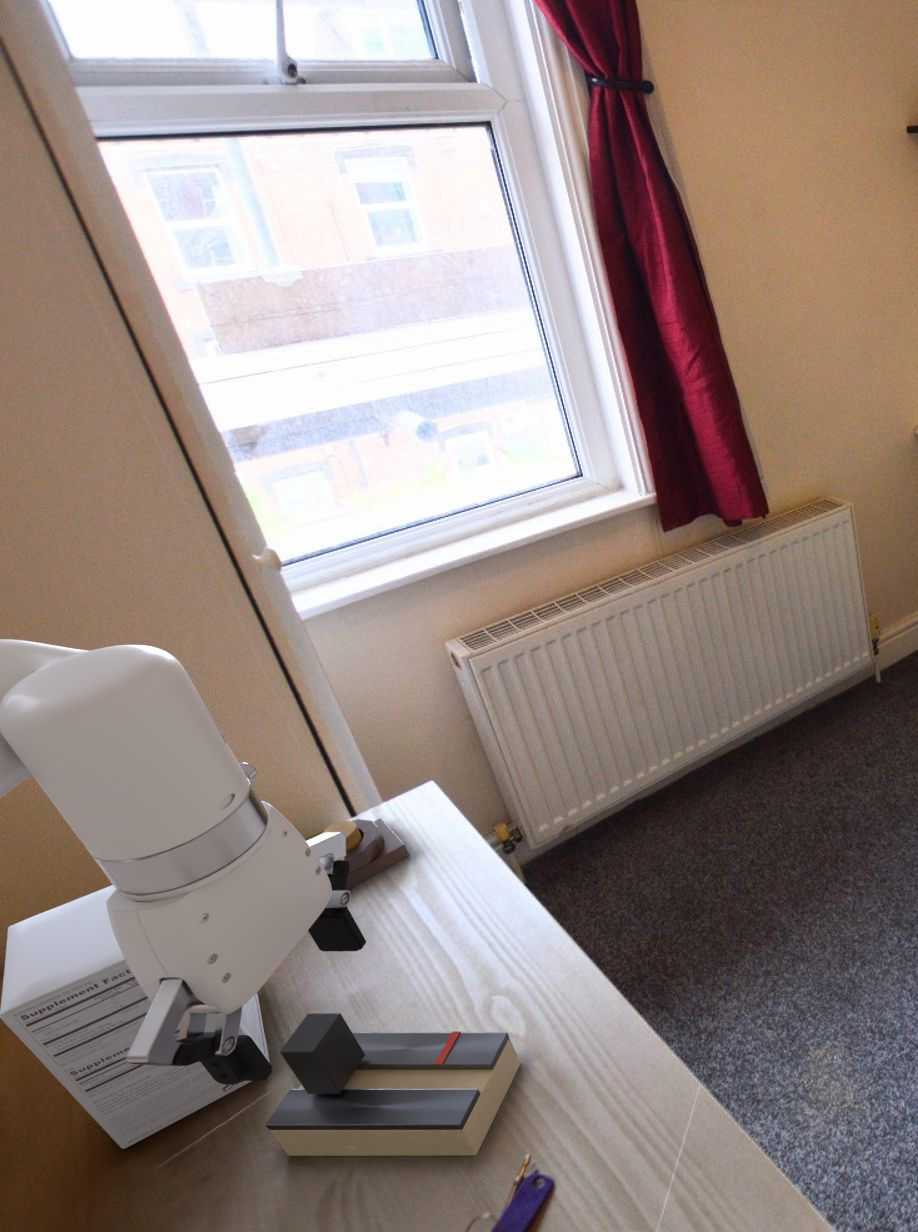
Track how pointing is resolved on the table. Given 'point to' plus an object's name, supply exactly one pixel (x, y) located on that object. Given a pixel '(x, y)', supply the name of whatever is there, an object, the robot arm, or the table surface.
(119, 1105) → the supplement box
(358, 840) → the button
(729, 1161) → the table surface
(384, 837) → the button block
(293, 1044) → the slider
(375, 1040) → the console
